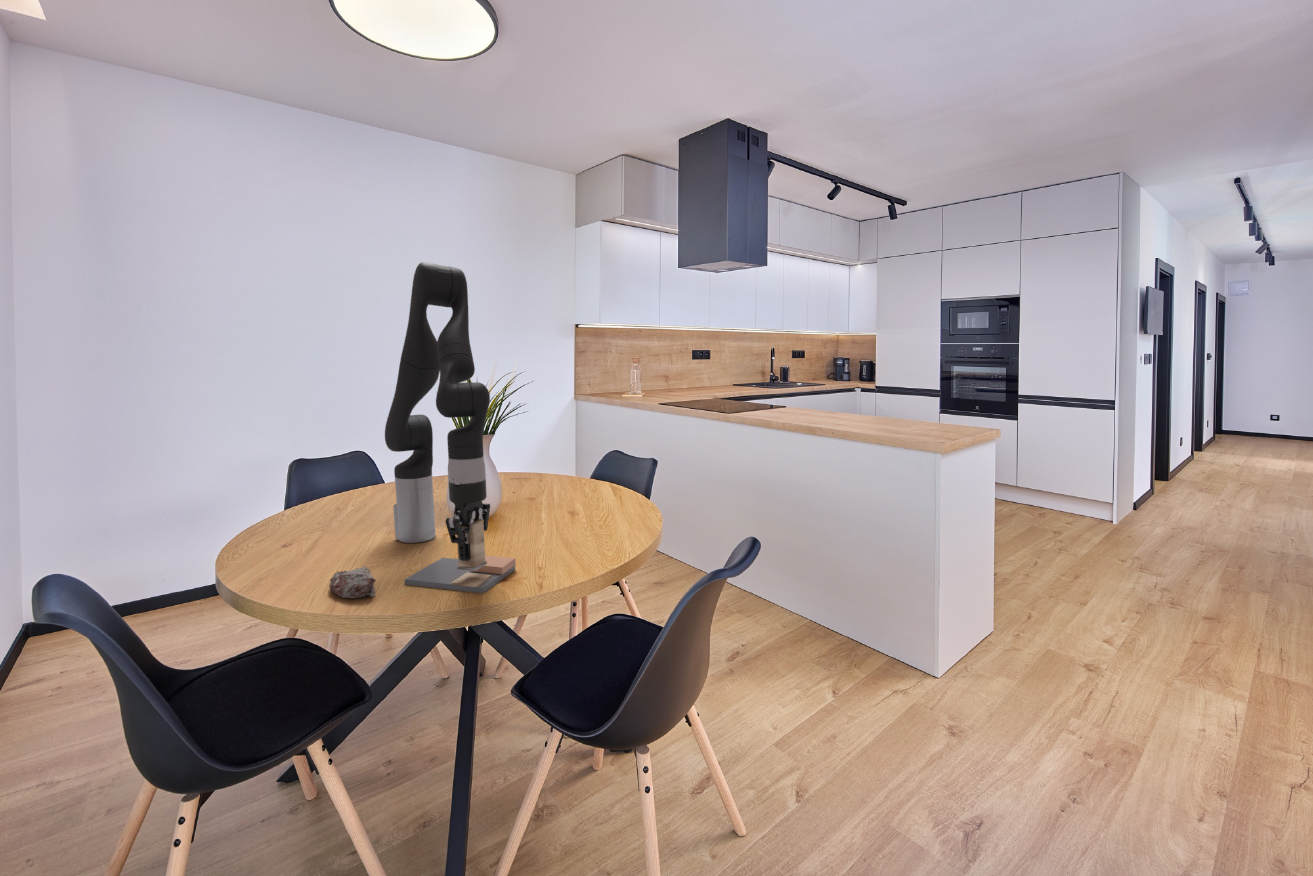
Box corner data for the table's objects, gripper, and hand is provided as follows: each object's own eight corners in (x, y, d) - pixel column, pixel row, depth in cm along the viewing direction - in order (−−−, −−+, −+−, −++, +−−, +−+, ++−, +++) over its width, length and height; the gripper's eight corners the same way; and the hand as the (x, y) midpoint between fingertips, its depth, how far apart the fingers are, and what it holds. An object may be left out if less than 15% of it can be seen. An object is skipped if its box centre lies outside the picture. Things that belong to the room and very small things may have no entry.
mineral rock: (327, 584, 130) (325, 565, 130) (367, 577, 135) (365, 558, 134) (334, 609, 118) (332, 588, 117) (378, 600, 122) (376, 579, 122)
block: (457, 569, 127) (454, 523, 125) (468, 562, 131) (466, 517, 130) (475, 570, 126) (473, 524, 124) (486, 563, 130) (484, 519, 129)
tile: (469, 564, 134) (502, 567, 132) (484, 555, 140) (515, 558, 138) (470, 571, 134) (502, 575, 132) (484, 562, 140) (515, 565, 138)
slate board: (404, 584, 130) (404, 579, 130) (442, 562, 143) (442, 557, 143) (483, 593, 125) (483, 587, 125) (515, 569, 139) (514, 564, 138)
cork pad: (451, 584, 127) (451, 582, 127) (466, 574, 133) (466, 572, 133) (476, 587, 125) (476, 585, 125) (491, 576, 131) (491, 574, 131)
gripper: (469, 470, 133) (473, 545, 136) (430, 484, 120) (435, 566, 122) (500, 472, 132) (503, 547, 134) (464, 486, 118) (468, 570, 120)
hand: (471, 556), depth 128 cm, fingers closed on block, 4 cm apart
